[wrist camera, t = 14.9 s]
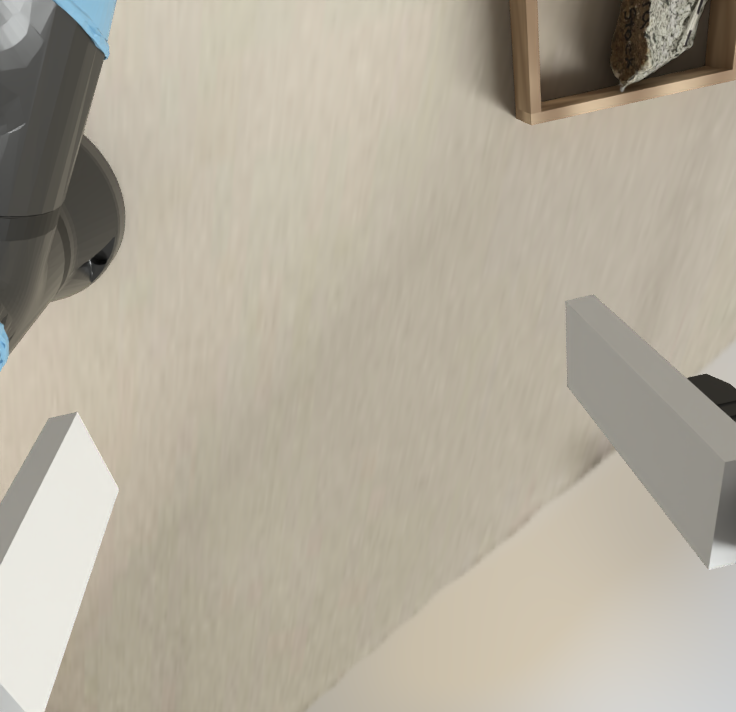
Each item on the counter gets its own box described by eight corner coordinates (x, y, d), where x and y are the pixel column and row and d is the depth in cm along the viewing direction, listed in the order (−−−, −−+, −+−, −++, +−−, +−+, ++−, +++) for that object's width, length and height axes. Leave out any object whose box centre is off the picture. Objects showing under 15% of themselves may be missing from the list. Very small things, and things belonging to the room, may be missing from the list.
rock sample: (742, 75, 46) (718, 49, 39) (636, 107, 51) (599, 88, 44) (730, -68, 45) (704, -119, 38) (624, -21, 50) (584, -60, 43)
